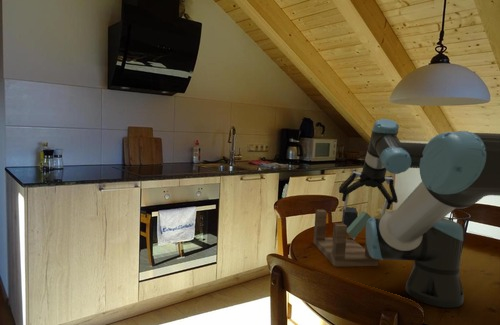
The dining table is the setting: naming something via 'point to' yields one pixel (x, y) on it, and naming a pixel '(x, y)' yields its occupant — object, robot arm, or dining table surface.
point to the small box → (349, 216)
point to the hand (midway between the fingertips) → (363, 211)
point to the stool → (340, 244)
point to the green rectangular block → (358, 224)
